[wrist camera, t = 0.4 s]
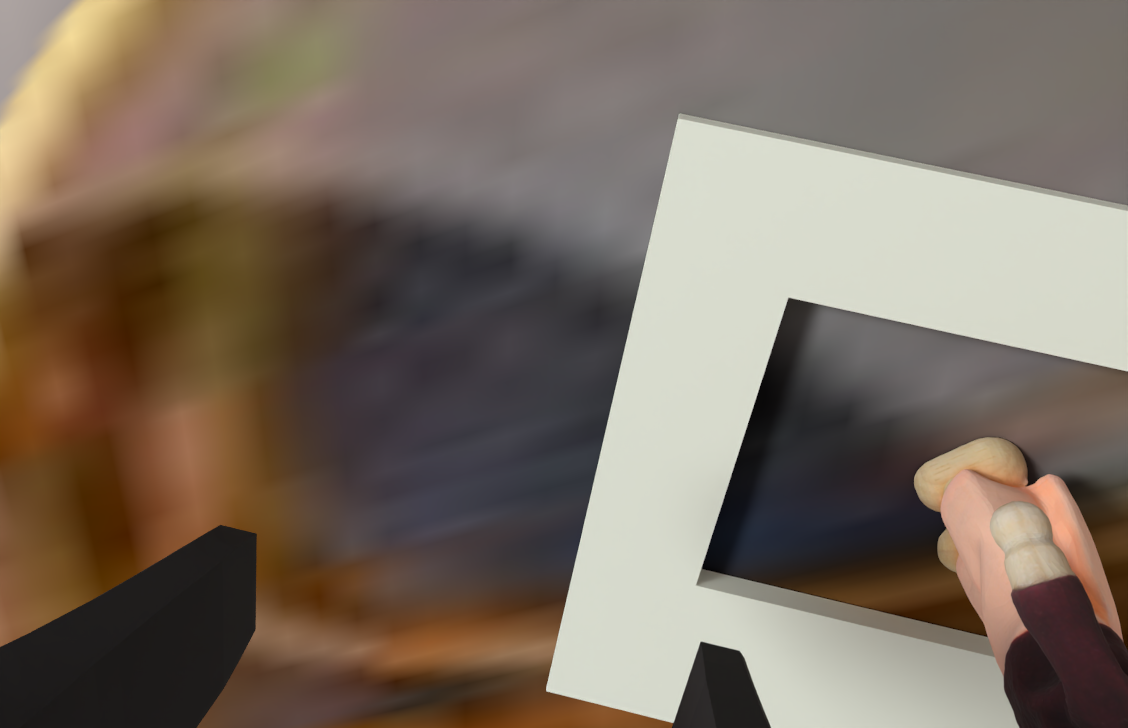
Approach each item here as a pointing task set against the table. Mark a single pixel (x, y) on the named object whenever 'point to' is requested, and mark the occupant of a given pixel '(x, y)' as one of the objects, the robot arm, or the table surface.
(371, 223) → the table surface
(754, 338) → the pale rectangular frame
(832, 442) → the table surface
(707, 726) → the robot arm
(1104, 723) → the grandmother figurine
